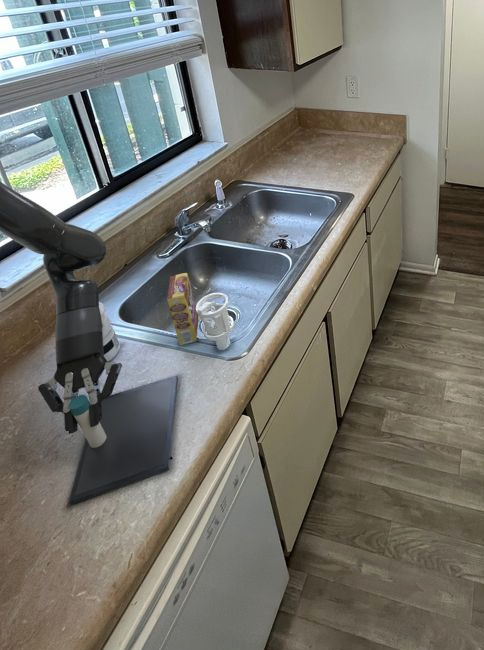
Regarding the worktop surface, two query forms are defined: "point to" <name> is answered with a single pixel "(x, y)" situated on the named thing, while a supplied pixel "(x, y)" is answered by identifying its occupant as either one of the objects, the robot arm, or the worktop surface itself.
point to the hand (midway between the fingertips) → (84, 428)
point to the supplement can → (108, 336)
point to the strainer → (216, 320)
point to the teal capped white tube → (86, 421)
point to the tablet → (129, 440)
